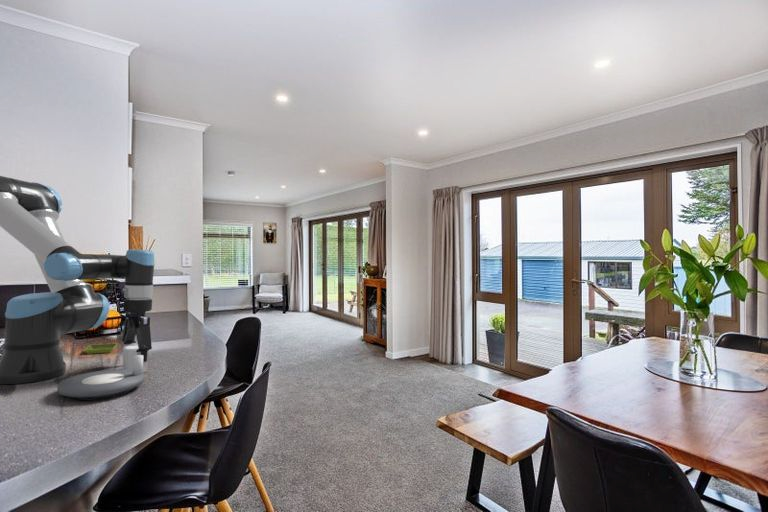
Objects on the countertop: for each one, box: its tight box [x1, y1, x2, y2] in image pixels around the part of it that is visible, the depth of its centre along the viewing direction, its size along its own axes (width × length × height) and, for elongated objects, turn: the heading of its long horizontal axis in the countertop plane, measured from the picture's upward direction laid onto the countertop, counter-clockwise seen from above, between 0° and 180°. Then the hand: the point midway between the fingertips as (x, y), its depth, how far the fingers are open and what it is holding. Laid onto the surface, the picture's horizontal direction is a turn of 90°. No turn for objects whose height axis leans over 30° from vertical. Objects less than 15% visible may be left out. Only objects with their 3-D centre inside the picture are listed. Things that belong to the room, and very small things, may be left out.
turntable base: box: [71, 389, 132, 401], centre depth 98 cm, size 13×13×1 cm
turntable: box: [57, 355, 145, 398], centre depth 98 cm, size 18×18×6 cm
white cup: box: [122, 344, 139, 370], centre depth 118 cm, size 7×7×7 cm
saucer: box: [83, 343, 118, 355], centre depth 137 cm, size 9×9×2 cm
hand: (134, 368), depth 118 cm, fingers open, 11 cm apart
